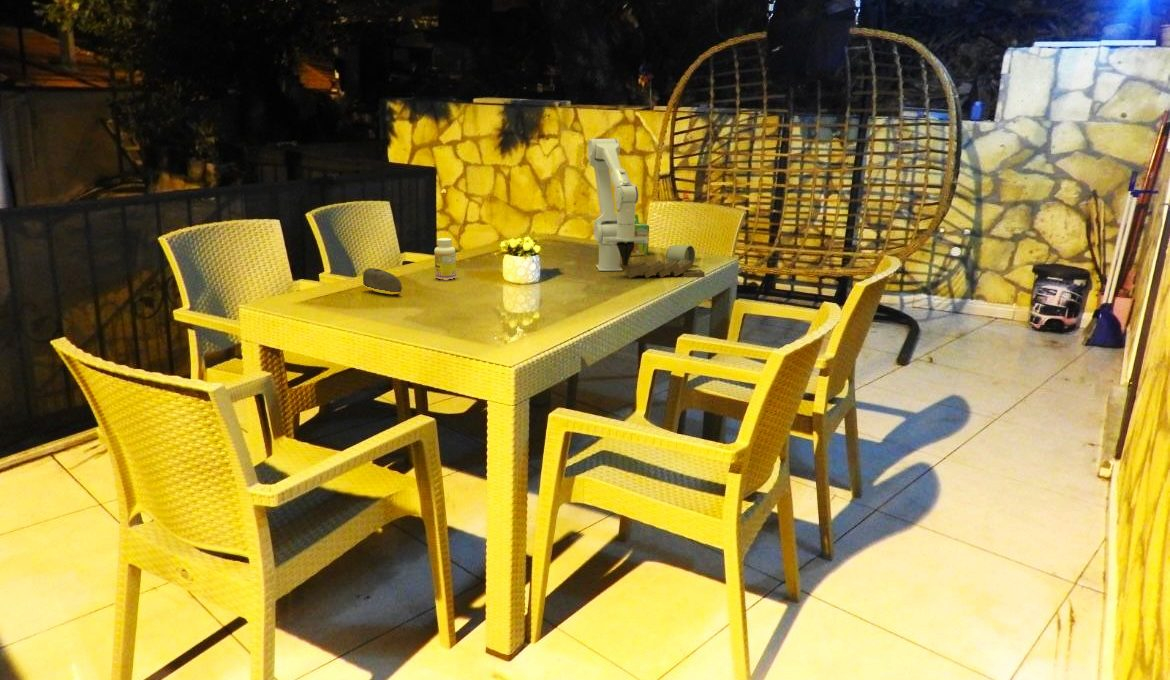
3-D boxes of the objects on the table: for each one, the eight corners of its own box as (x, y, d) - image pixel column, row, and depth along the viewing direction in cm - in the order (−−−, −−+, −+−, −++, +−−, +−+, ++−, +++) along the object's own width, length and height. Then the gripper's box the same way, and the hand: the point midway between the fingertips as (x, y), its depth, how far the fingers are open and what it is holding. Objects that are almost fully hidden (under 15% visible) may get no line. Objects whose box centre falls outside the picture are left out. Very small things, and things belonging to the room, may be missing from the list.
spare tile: (624, 269, 280) (643, 261, 280) (626, 275, 280) (646, 267, 280) (627, 272, 275) (647, 263, 275) (629, 278, 276) (649, 269, 276)
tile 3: (653, 269, 281) (671, 258, 282) (656, 275, 282) (674, 264, 282) (658, 272, 276) (676, 261, 277) (661, 277, 277) (679, 267, 278)
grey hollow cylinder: (674, 263, 303) (675, 241, 300) (695, 265, 298) (695, 244, 296) (659, 268, 294) (659, 246, 292) (680, 270, 290) (680, 248, 288)
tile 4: (667, 268, 282) (685, 259, 283) (669, 274, 283) (687, 264, 284) (673, 270, 277) (691, 260, 278) (675, 276, 278) (693, 266, 279)
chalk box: (626, 257, 313) (627, 217, 309) (616, 253, 321) (617, 214, 317) (649, 255, 317) (650, 216, 313) (638, 251, 325) (639, 213, 321)
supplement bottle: (434, 277, 275) (432, 237, 272) (454, 276, 277) (453, 237, 274) (437, 281, 269) (435, 241, 266) (458, 280, 271) (456, 240, 268)
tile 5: (679, 269, 282) (700, 268, 283) (679, 275, 283) (700, 275, 284) (683, 272, 278) (704, 271, 279) (683, 278, 278) (704, 278, 279)
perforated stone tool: (408, 296, 249) (406, 272, 248) (393, 299, 245) (392, 275, 244) (376, 288, 259) (374, 266, 257) (361, 291, 255) (360, 268, 253)
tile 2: (640, 269, 280) (659, 259, 280) (643, 275, 281) (662, 265, 281) (643, 272, 276) (662, 262, 276) (646, 278, 276) (665, 268, 276)
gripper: (605, 225, 268) (604, 268, 272) (650, 225, 270) (649, 267, 274) (602, 222, 275) (601, 263, 279) (646, 222, 277) (645, 263, 281)
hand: (624, 265), depth 277 cm, fingers closed
